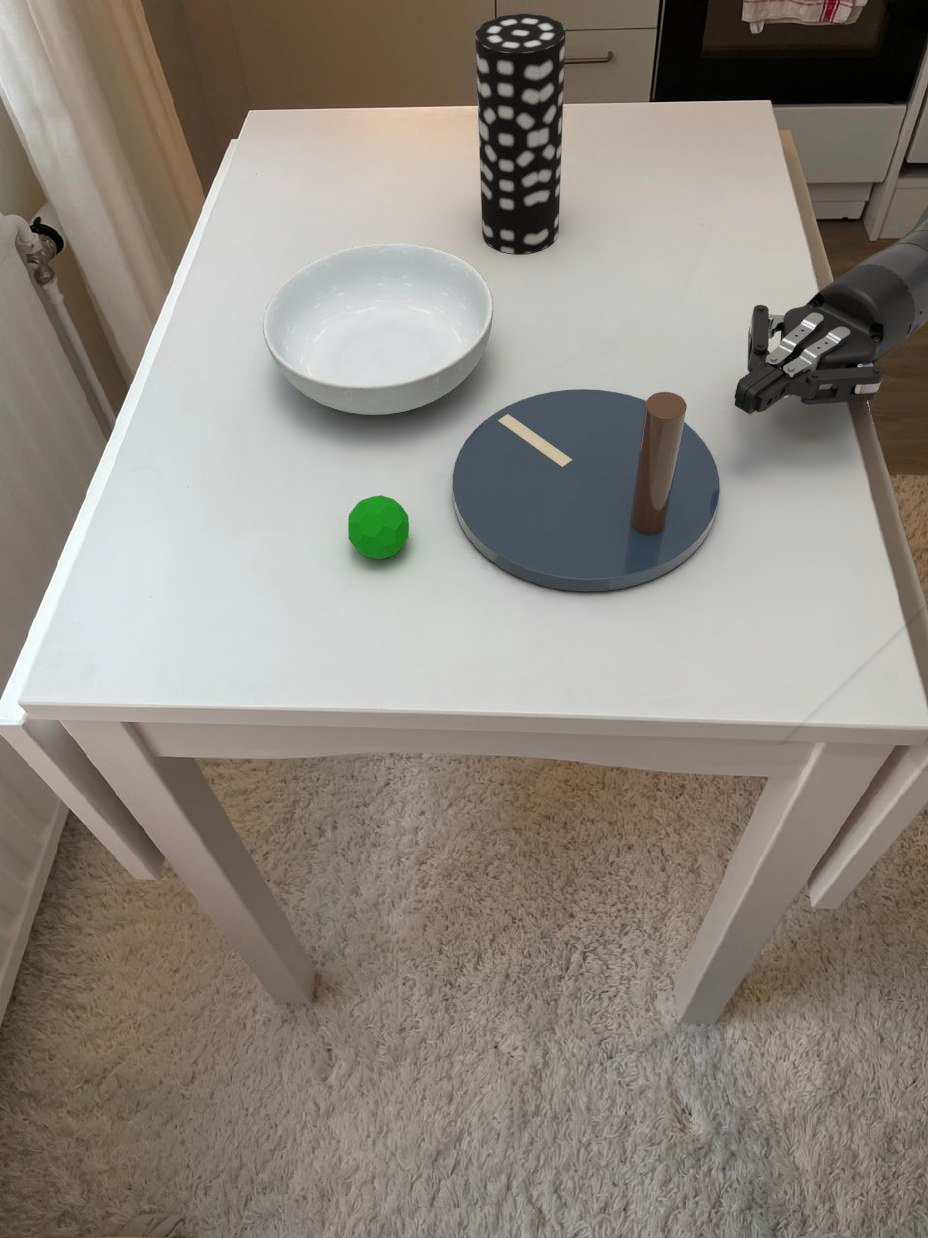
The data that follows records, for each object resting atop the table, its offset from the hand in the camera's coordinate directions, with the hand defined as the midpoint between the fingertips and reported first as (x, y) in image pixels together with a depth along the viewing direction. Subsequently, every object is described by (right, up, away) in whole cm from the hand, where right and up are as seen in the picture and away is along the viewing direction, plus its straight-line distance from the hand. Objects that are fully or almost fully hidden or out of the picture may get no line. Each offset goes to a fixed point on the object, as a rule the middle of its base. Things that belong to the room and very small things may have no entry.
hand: (743, 401), depth 74 cm
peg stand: (-12, -6, +6) cm, 15 cm away
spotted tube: (-16, +25, +30) cm, 42 cm away
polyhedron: (-29, -11, +4) cm, 31 cm away
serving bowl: (-29, +7, +17) cm, 35 cm away
